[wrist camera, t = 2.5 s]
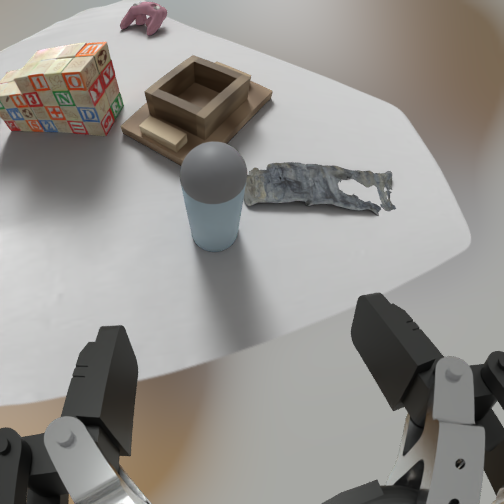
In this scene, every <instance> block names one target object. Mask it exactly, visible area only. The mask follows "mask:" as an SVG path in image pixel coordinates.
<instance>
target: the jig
mask: <svg viewBox="0 0 504 504" xmlns="http://www.w3.org/2000/svg"><path fill="white" fill-rule="evenodd" d="M250 79H251V75H249V74H246V73H244V72H242V71H239V70H237V69H234V68H232V67H229V66H227V65H224V64H222V63H219V62H215V63H213V62H210V61H208V60H205V59H202V58H199V57H196V56H194V55H193V56H191V57H190V58H188V59H187V60H185V61H184V62H182V63H181V64H180V65H178V66H177V67H175V68H174V69H173V70H171V71H170V72H169V73H167V74H166V75H165V76H163V77H162V78H161V79H160V80H158V81H157V82H156V83H154V84H153V85H152V86H151V87H149V88H148V89H147V90H146V91H145V96H146V100H147V103H146V104H145V105H143V106H142V107H141V108H140V109H139V110H138V111H137V112H136V113H134V114H133V115H132V116H131V117H130V118H129V119H128V120H127V121H126V122H125V123H124V124H123V125H121V129H122V132H123V134H125V135H127V136H129V137H131V138H133V139H134V140H136V141H138V142H140V143H142V144H143V145H145V146H147V147H149V148H151V149H152V150H154V151H156V152H158V153H159V154H161V155H163V156H165V157H167V158H168V159H170V160H172V161H174V162H175V163H177V164H179V165H180V166H181V165H182V163H183V160H184V158H185V157H186V155H187V154H188V153H189V152H190V151H191V150H192V149H193V148H195V147H196V146H198V145H200V144H202V143H206V142H222V143H226V144H227V143H228V142H229V141H230V140H231V139H232V138H233V137H234V136H235V135H236V134H237V133H238V132H239V130H240V129H241V128H242V127H243V126H244V125H245V124H246V123H247V122H248V121H249V120H250V119H251V118H252V117H253V116H254V115H255V114H256V113H257V112H258V111H259V110H260V109H261V108H262V107H263V106H264V105H265V104H266V103H267V102H268V101H269V100H270V99H271V96H272V92H273V91H272V90H269V89H267V88H265V87H263V86H261V85H259V84H256V83H254V82H252V81H250Z"/></svg>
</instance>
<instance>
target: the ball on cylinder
mask: <svg viewBox="0 0 504 504" xmlns="http://www.w3.org/2000/svg"><path fill="white" fill-rule="evenodd" d="M180 181H181V186H182V191H183V196H184V201H185V205H186V210H187V215H188V219H189V224H190V228H191V233H192V237H193V239H194V241H195V243H196V244H197V245H198V246H199V247H200V248H202V249H204V250H206V251H210V252H219V251H223V250H225V249H227V248H229V247H230V246H231V245H232V244H233V243H234V241H235V240H236V237H237V234H238V228H239V222H240V216H241V210H242V204H243V198H244V192H245V186H246V181H247V168H246V164H245V161H244V159H243V157H242V156H241V154H240V153H239V152H238V151H237V150H236V149H235V148H233V147H232V146H230V145H228V144H226V143H222V142H206V143H202V144H200V145H198V146H196V147H195V148H193V149H192V150H191V151H190V152H189V153H188V154H187V155H186V157H185V158H184V160H183V163H182V165H181V169H180Z"/></svg>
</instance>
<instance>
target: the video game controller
mask: <svg viewBox="0 0 504 504" xmlns="http://www.w3.org/2000/svg"><path fill="white" fill-rule="evenodd" d="M146 15H149V16H150V17H149V18H148V19H147V18H146ZM166 16H167V10H166V9H165V8H164V7H161V6H160V5H159V4H157V3H153V2H142V3H137V4H134V5H133V6H132V7H131V8H130V9H129V11H128V12H127V14H126V15H125V17H124V18H123V20H122V21H121V24H120V28H121V29H125V28H127V27H128V26H129V25H130V24H131V23H132V22H133V21H134V20H136V24H137V25H144V24H145V23H146V26H147V27H148V28H147V35H152V34H154V33H155V32H156V31H157V30H158V29H159V27H160V26H161V24H162V22H163V20H164V19H165V18H166Z"/></svg>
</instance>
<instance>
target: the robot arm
mask: <svg viewBox="0 0 504 504" xmlns="http://www.w3.org/2000/svg"><path fill="white" fill-rule="evenodd" d="M351 337H352V341H353V344H354V346H355V347H356V349H357V351H358V352H359V354H360V356H361V357H362V359H363V361H364V362H365V364H366V365H367V367H368V369H369V371H370V372H371V374H372V376H373V377H374V379H375V381H376V382H377V384H378V386H379V388H380V389H381V391H382V393H383V394H384V396H385V397H386V399H387V401H388V403H389V405H390V407H391V408H392V410H393V411H395V410H397V409H400V408H402V407H405V408H406V410H407V412H408V414H407V416H406V420H405V426H404V431H403V435H402V440H401V445H400V449H399V453H398V457H397V461H396V463H395V465H394V467H393V469H392V471H391V473H390V475H389V477H388V479H387V482H386V485H385V486H380V485H379V483H378V480H375V481H372V482H369V483H367V484H364V485H361V486H359V487H356V488H353V489H350V490H347V491H344V492H341V493H340V494H338V495H336V496H334V497H333V498H331V499H329V500H327V501H326V502H324V503H322V504H479V503H480V496H481V488H482V480H483V469H484V471H485V473H486V475H487V477H488V479H489V481H490V483H491V485H492V487H493V489H494V492H495V494H496V496H497V497H496V500H495V501H494V502H493V503H492V504H504V428H503V426H502V424H501V423H500V421H499V420H498V418H497V416H496V415H495V414H494V412H493V410H492V409H491V408H492V407H493V405H494V404H495V403H496V402H497V401H498V402H499V403H500V405H501V407H502V408H503V410H504V352H501V351H495V352H492V353H491V354H490V355H489V357H488V358H487V360H486V362H485V363H484V364H479V365H471V366H469V365H468V364H467V363H466V362H465V361H463V360H462V359H460V358H457V357H452V356H448V357H444V356H443V355H442V354H441V353H440V352H439V350H438V349H437V348H436V347H435V345H434V344H433V343H432V342H431V341H430V339H429V338H428V337H427V336H426V335H425V334H424V332H423V331H422V330H421V329H419V327H418V325H417V324H416V323H415V322H413V319H412V318H411V317H410V316H409V315H408V314H407V313H406V311H405V310H403V309H401V308H400V307H398V306H396V305H395V304H390V303H389V301H388V300H387V299H386V298H385V297H384V296H383V295H382V294H381V293H373V294H368V295H362V296H360V297H359V298H358V301H357V305H356V310H355V314H354V319H353V323H352V327H351ZM137 379H138V365H137V360H136V356H135V354H134V351H133V349H132V346H131V344H130V341H129V338H128V335H127V333H126V330H125V328H124V326H122V325H119V326H102V327H100V329H99V332H98V335H97V338H96V341H95V342H89V343H88V344H87V345H86V346H85V347H84V349H83V350H82V351H81V352H80V354H79V357H78V360H77V363H76V368H75V369H74V372H73V378H72V379H71V382H70V386H69V389H68V392H67V396H66V400H65V404H64V407H63V411H62V414H61V417H60V418H57V419H55V420H54V421H53V422H52V423H50V424H49V426H48V427H47V429H46V431H45V433H42V434H37V435H32V436H25V437H21V436H20V435H19V434H18V433H17V432H16V431H15V430H13V429H11V428H1V429H0V504H68V496H69V494H70V496H71V498H72V499H73V501H74V503H75V504H152V503H151V502H150V501H149V500H148V499H147V498H146V497H145V495H144V494H143V493H142V492H141V491H140V489H139V488H138V487H137V486H136V485H135V483H134V482H133V481H132V480H131V478H130V477H129V476H128V475H127V473H126V472H125V471H124V469H123V468H122V467H121V465H120V464H119V456H131V442H132V428H133V416H134V405H135V396H136V387H137ZM27 489H28V491H27ZM26 500H27V503H26Z"/></svg>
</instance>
